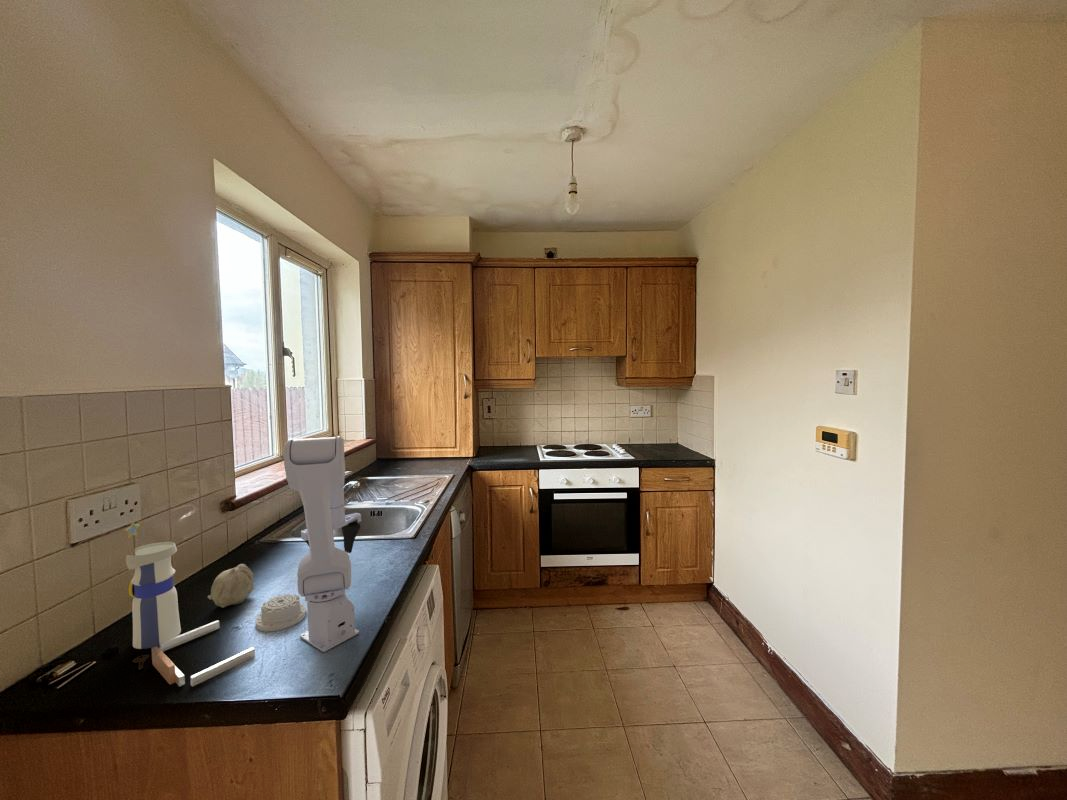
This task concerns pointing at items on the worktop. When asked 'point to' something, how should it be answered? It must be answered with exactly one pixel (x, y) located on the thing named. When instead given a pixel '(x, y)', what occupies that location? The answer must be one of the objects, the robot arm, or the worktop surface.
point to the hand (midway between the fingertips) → (334, 557)
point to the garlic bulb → (232, 586)
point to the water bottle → (153, 593)
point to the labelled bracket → (176, 675)
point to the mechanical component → (280, 613)
